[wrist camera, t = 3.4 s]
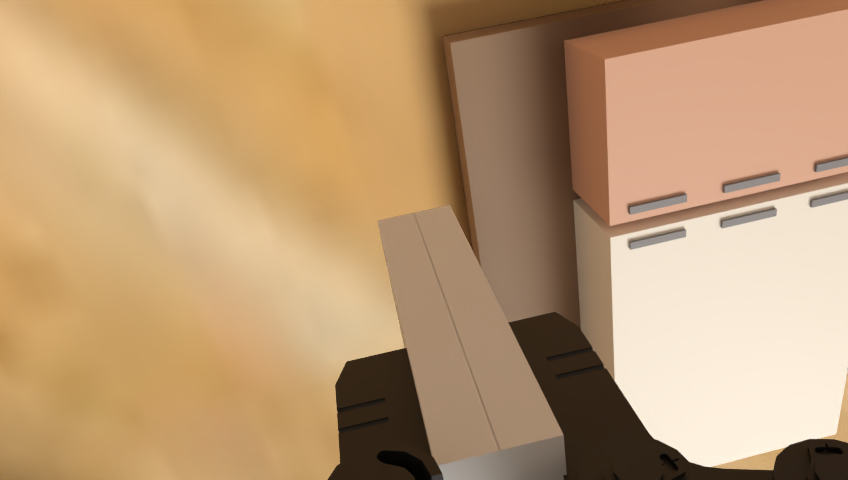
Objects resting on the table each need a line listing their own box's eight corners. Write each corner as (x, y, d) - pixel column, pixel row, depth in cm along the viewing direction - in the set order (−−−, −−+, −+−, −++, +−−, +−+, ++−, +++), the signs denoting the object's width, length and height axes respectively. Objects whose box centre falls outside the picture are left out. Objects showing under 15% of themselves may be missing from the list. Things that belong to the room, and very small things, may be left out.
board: (499, 436, 28) (517, 484, 26) (442, 36, 21) (461, 52, 18) (959, 320, 30) (1016, 354, 28) (1068, -89, 22) (1160, -89, 20)
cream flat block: (587, 436, 28) (619, 493, 25) (573, 200, 23) (611, 239, 20) (785, 385, 28) (838, 435, 26) (815, 146, 23) (884, 176, 21)
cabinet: (572, 189, 22) (611, 227, 20) (564, 40, 20) (606, 60, 17) (816, 135, 23) (886, 164, 20) (834, -15, 21) (917, -5, 18)
